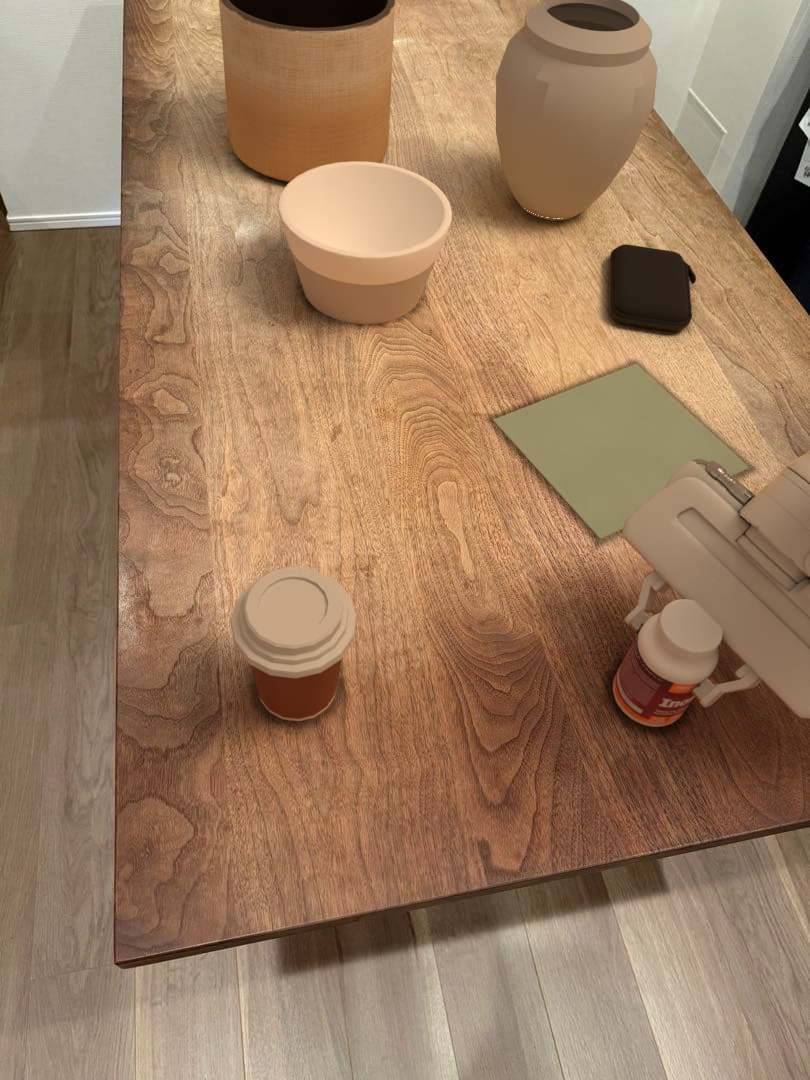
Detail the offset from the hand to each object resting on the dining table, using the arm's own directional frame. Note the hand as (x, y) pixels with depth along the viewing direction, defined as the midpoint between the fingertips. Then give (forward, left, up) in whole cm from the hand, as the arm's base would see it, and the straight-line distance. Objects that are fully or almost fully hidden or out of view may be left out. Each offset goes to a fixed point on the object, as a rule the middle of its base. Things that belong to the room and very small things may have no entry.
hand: (664, 663), depth 68 cm
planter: (-16, -90, -6) cm, 92 cm away
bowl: (-7, -59, -6) cm, 60 cm away
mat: (-18, -24, -6) cm, 30 cm away
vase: (-39, -64, -6) cm, 75 cm away
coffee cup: (+24, -15, -6) cm, 29 cm away
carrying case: (-38, -42, -6) cm, 57 cm away
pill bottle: (-1, 0, -6) cm, 6 cm away
